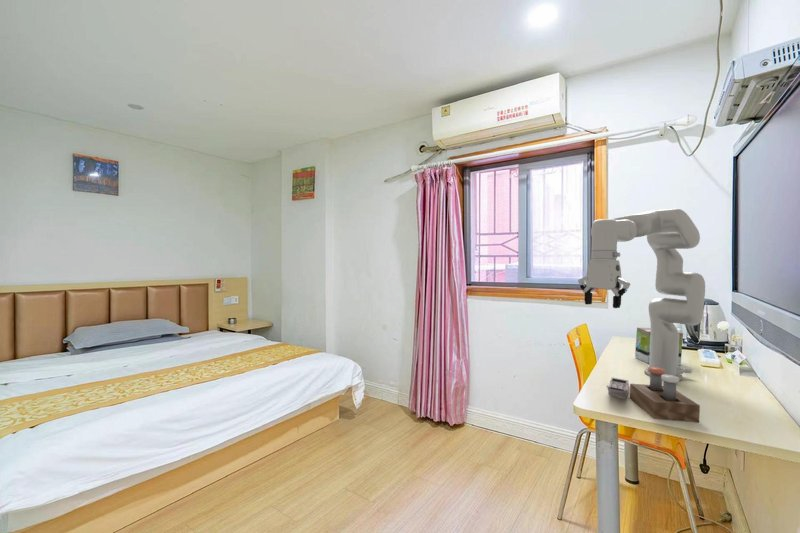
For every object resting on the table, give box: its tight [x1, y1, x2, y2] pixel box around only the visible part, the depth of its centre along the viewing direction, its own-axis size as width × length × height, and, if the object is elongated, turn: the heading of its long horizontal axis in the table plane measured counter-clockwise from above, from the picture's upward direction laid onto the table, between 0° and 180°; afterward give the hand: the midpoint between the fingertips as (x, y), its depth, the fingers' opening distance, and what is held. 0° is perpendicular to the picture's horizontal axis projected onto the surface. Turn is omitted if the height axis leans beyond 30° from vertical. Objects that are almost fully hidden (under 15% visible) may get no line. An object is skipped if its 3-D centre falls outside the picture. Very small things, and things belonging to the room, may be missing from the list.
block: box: [629, 383, 701, 423], centre depth 116 cm, size 12×16×5 cm
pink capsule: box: [647, 367, 665, 392], centre depth 120 cm, size 4×4×7 cm
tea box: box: [634, 327, 684, 365], centre depth 171 cm, size 15×10×15 cm
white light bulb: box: [661, 374, 680, 401], centre depth 112 cm, size 4×4×7 cm
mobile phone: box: [606, 376, 630, 400], centre depth 130 cm, size 6×6×25 cm
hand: (601, 305), depth 126 cm, fingers open, 9 cm apart
